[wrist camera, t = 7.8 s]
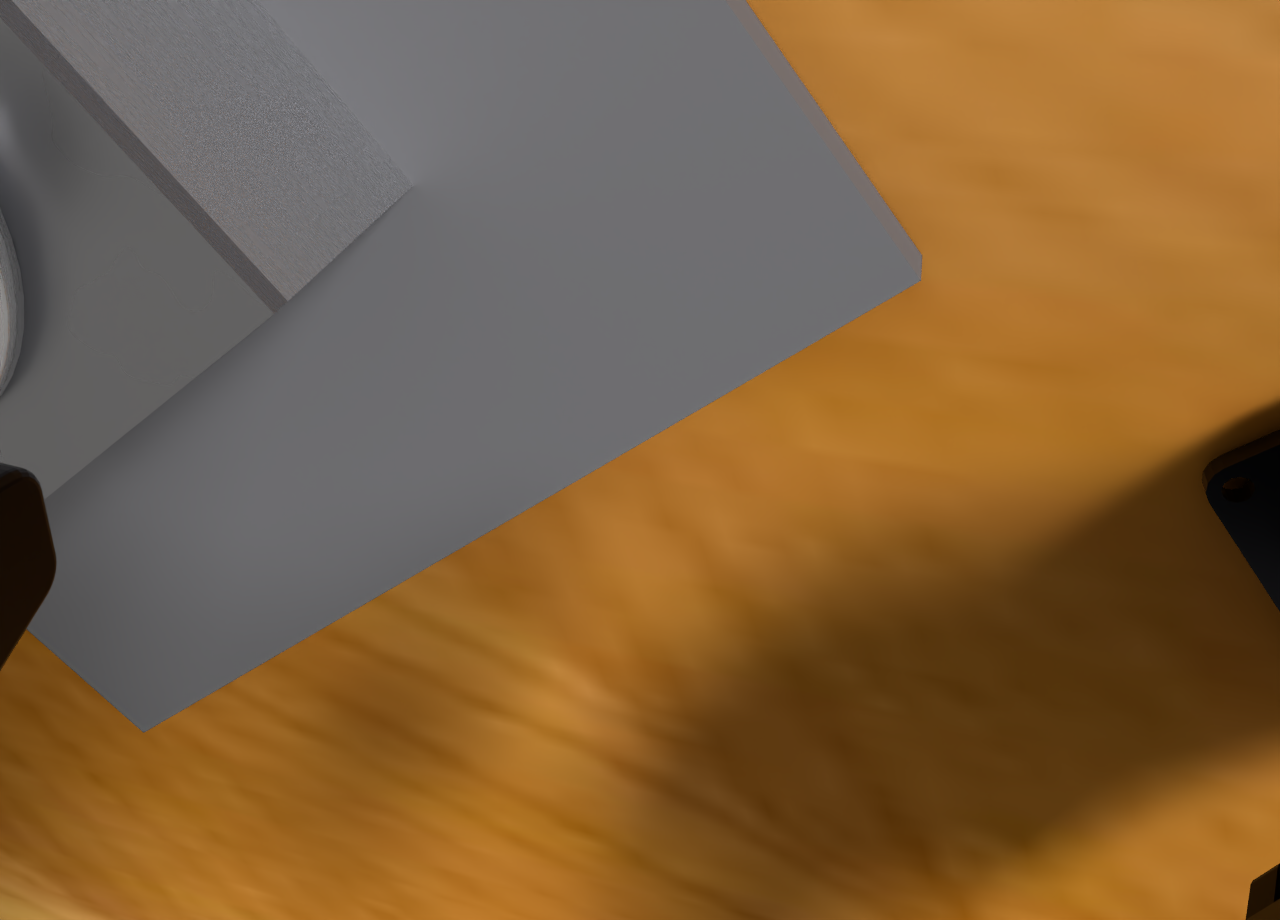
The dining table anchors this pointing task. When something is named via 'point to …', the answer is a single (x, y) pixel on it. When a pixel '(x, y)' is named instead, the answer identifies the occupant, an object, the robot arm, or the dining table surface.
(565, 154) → the slate mat
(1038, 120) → the dining table surface
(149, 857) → the dining table surface
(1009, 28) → the dining table surface
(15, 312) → the plunger
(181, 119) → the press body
